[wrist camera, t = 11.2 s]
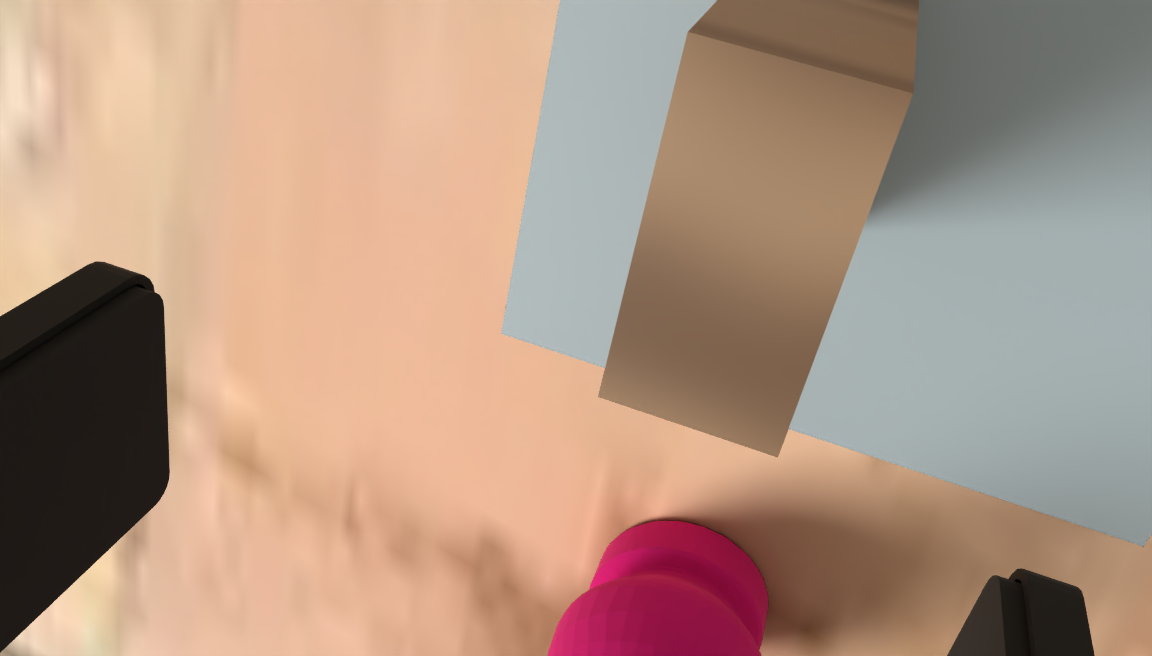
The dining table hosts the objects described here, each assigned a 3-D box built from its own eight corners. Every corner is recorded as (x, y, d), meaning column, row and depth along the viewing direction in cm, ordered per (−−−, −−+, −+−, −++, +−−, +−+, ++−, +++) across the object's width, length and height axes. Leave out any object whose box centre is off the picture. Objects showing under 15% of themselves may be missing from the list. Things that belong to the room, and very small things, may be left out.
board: (651, -417, 24) (635, -427, 23) (1600, -226, 21) (1643, -226, 19) (517, 312, 34) (501, 333, 33) (1134, 515, 31) (1143, 546, 30)
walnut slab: (778, -65, 25) (687, 31, 16) (921, -29, 24) (913, 93, 15) (706, 194, 29) (598, 396, 19) (829, 231, 28) (777, 457, 19)
